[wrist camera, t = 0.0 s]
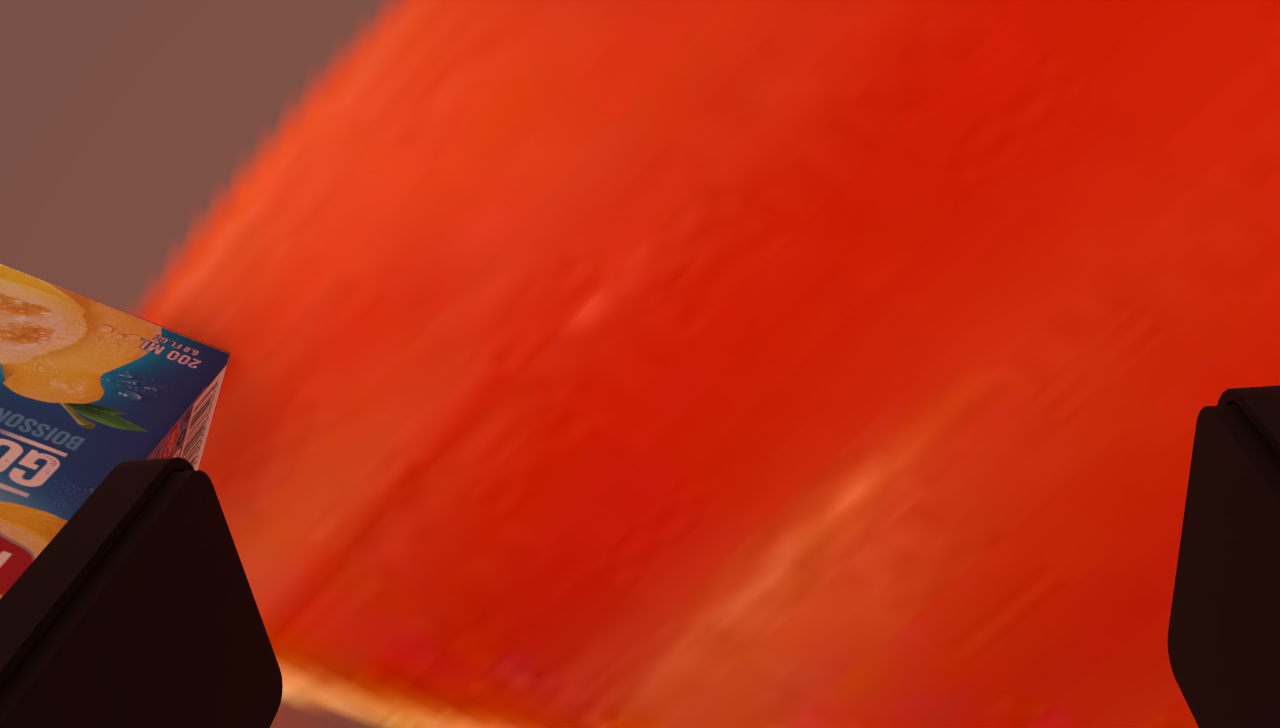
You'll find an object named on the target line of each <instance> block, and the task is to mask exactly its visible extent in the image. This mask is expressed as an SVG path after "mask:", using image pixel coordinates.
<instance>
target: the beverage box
mask: <svg viewBox="0 0 1280 728" xmlns="http://www.w3.org/2000/svg"><path fill="white" fill-rule="evenodd" d="M229 357H230V353H227V352H225V351H222V350H220V349H217V348H214V347H212V346H209V345H207V344H204V343H202V342H199V341H197V340H194V339H191V338H189V337H186V336H184V335H181V334H179V333H176V332H174V331H171V330H168V329H166V328H163V327H161V326H158V325H156V324H153V323H151V322H148V321H145V320H143V319H140V318H138V317H135V316H133V315H130V314H128V313H125V312H122V311H120V310H117V309H115V308H112V307H110V306H107V305H105V304H102V303H99V302H97V301H94V300H92V299H89V298H87V297H84V296H82V295H79V294H76V293H74V292H71V291H69V290H66V289H64V288H61V287H58V286H56V285H53V284H51V283H48V282H46V281H43V280H41V279H38V278H35V277H33V276H30V275H28V274H25V273H23V272H20V271H17V270H15V269H12V268H10V267H7V266H5V265H2V264H0V599H1V598H2V597H3V595H4V594H5V593H6V592H7V591H8V590H9V589H10V587H11V586H12V585H13V584H14V583H15V582H16V580H17V579H18V578H19V577H20V576H21V575H22V574H23V572H24V571H25V570H26V569H27V568H28V567H29V565H30V564H31V563H32V562H33V561H34V560H35V559H36V557H37V556H38V555H39V554H40V553H41V552H42V550H43V549H44V548H45V547H46V546H47V545H48V544H49V542H50V541H51V540H52V539H53V538H54V537H55V536H56V534H57V533H58V532H59V531H60V530H61V529H62V527H63V526H64V525H65V524H66V523H67V522H68V521H69V519H70V518H71V517H72V516H73V515H74V514H75V512H76V511H77V510H78V509H79V508H80V507H81V506H82V504H83V503H84V502H85V501H86V500H87V499H88V497H89V496H90V495H91V494H92V493H93V492H94V491H95V489H96V488H97V487H98V486H99V485H100V484H101V482H102V481H103V480H104V479H105V478H106V477H107V476H108V474H109V473H110V472H111V471H112V470H113V469H114V468H115V467H116V466H117V465H118V464H120V463H121V462H124V461H129V460H142V459H158V458H173V457H181V458H183V459H186V460H187V461H188V462H189V463H190V464H191V465H192V466H193V468H194V470H195V471H196V470H198V469H199V465H200V462H201V458H202V454H203V451H204V447H205V443H206V440H207V436H208V433H209V429H210V425H211V422H212V418H213V414H214V411H215V407H216V404H217V400H218V396H219V393H220V389H221V385H222V382H223V378H224V375H225V371H226V367H227V364H228V360H229Z"/></svg>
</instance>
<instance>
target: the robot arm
mask: <svg viewBox="0 0 1280 728" xmlns="http://www.w3.org/2000/svg"><path fill="white" fill-rule="evenodd" d="M1168 653H1169V659H1170V664H1171V667H1172V671H1173V674H1174V676H1175V679H1176V681H1177V683H1178V685H1179V687H1180V689H1181V691H1182V694H1183V696H1184V698H1185V700H1186V702H1187V704H1188V706H1189V708H1190V710H1191V712H1192V714H1193V716H1194V718H1195V720H1196V723H1197V725H1198V727H1199V728H1280V386H1265V387H1250V388H1234V389H1227V390H1226V391H1225V392H1223V393H1222V395H1221V397H1220V399H1219V401H1218V405H1217V406H1206V407H1204V408H1202V409H1201V411H1200V413H1199V415H1198V419H1197V423H1196V430H1195V438H1194V445H1193V453H1192V460H1191V467H1190V475H1189V482H1188V490H1187V497H1186V504H1185V512H1184V519H1183V527H1182V534H1181V542H1180V549H1179V556H1178V564H1177V571H1176V579H1175V586H1174V593H1173V601H1172V608H1171V616H1170V623H1169V630H1168ZM281 697H282V676H281V672H280V668H279V665H278V663H277V660H276V657H275V654H274V652H273V649H272V646H271V643H270V641H269V638H268V635H267V632H266V630H265V627H264V624H263V621H262V619H261V616H260V613H259V610H258V608H257V605H256V602H255V599H254V597H253V594H252V591H251V588H250V586H249V583H248V580H247V577H246V575H245V572H244V569H243V566H242V564H241V561H240V558H239V555H238V553H237V550H236V547H235V544H234V542H233V539H232V536H231V533H230V531H229V528H228V525H227V522H226V520H225V517H224V514H223V511H222V509H221V506H220V503H219V500H218V498H217V495H216V492H215V489H214V487H213V484H212V482H211V480H210V478H209V476H208V475H207V474H206V473H205V472H203V471H200V470H196V471H195V470H194V468H193V466H192V465H191V464H190V463H189V462H188V461H187V460H186V459H183V458H181V457H173V458H158V459H142V460H129V461H124V462H121V463H120V464H118V465H117V466H116V467H115V468H114V469H113V470H112V471H111V472H110V473H109V474H108V476H107V477H106V478H105V479H104V480H103V481H102V482H101V484H100V485H99V486H98V487H97V488H96V489H95V491H94V492H93V493H92V494H91V495H90V496H89V497H88V499H87V500H86V501H85V502H84V503H83V504H82V506H81V507H80V508H79V509H78V510H77V511H76V512H75V514H74V515H73V516H72V517H71V518H70V519H69V521H68V522H67V523H66V524H65V525H64V526H63V527H62V529H61V530H60V531H59V532H58V533H57V534H56V536H55V537H54V538H53V539H52V540H51V541H50V542H49V544H48V545H47V546H46V547H45V548H44V549H43V550H42V552H41V553H40V554H39V555H38V556H37V557H36V559H35V560H34V561H33V562H32V563H31V564H30V565H29V567H28V568H27V569H26V570H25V571H24V572H23V574H22V575H21V576H20V577H19V578H18V579H17V580H16V582H15V583H14V584H13V585H12V586H11V587H10V589H9V590H8V591H7V592H6V593H5V594H4V595H3V597H2V598H1V599H0V728H270V726H271V724H272V722H273V720H274V718H275V715H276V713H277V711H278V708H279V706H280V702H281Z"/></svg>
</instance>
